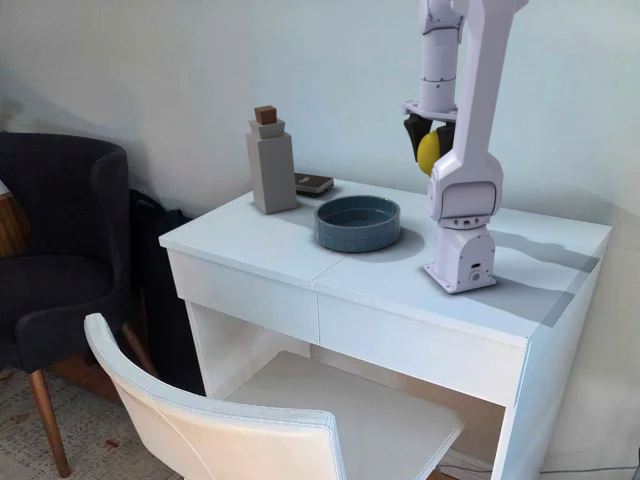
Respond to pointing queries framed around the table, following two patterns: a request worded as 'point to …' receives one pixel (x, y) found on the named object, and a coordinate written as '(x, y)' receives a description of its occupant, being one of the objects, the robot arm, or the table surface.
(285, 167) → the perfume bottle
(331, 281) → the table surface
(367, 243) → the bowl
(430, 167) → the lemon
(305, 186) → the external hard drive
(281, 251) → the table surface
